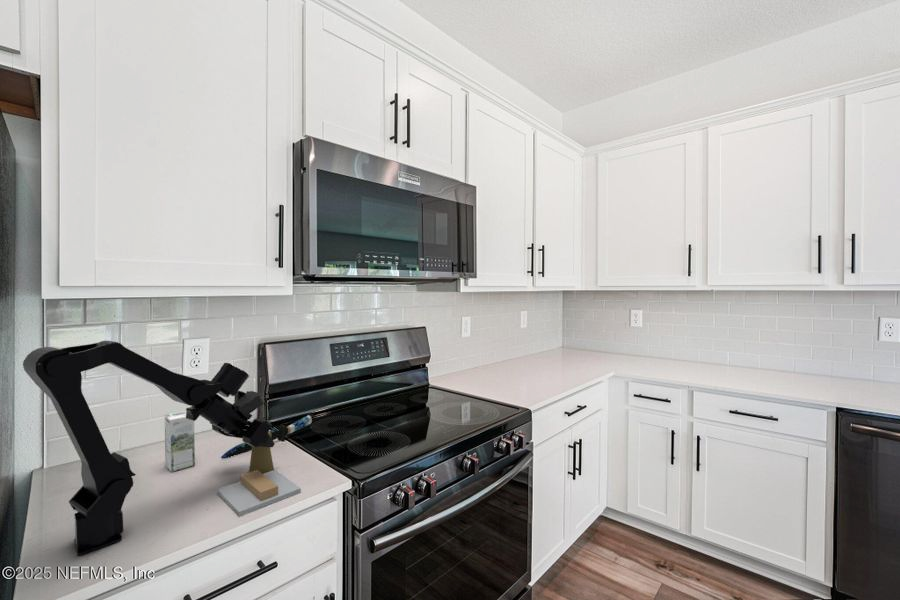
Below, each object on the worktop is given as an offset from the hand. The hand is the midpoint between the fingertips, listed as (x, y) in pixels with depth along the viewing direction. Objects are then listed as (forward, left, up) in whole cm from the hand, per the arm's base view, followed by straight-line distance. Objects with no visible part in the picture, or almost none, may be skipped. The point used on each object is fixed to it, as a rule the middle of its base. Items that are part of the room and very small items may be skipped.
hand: (263, 441), depth 109 cm
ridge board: (-6, -11, -8) cm, 15 cm away
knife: (+9, +17, -8) cm, 21 cm away
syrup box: (-15, +19, -8) cm, 25 cm away
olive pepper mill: (-1, 0, -8) cm, 8 cm away
